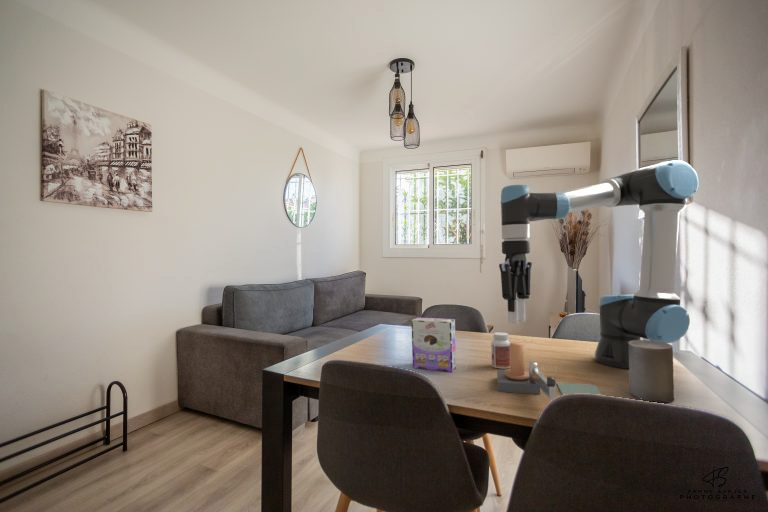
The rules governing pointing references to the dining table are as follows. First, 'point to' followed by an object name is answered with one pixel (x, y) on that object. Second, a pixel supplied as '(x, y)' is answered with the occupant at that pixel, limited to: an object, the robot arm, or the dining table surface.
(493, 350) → the pill bottle
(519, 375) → the plug
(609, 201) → the robot arm
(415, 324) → the candy box
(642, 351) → the pillar candle
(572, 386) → the mat
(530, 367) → the clip
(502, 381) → the socket
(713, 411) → the dining table surface
